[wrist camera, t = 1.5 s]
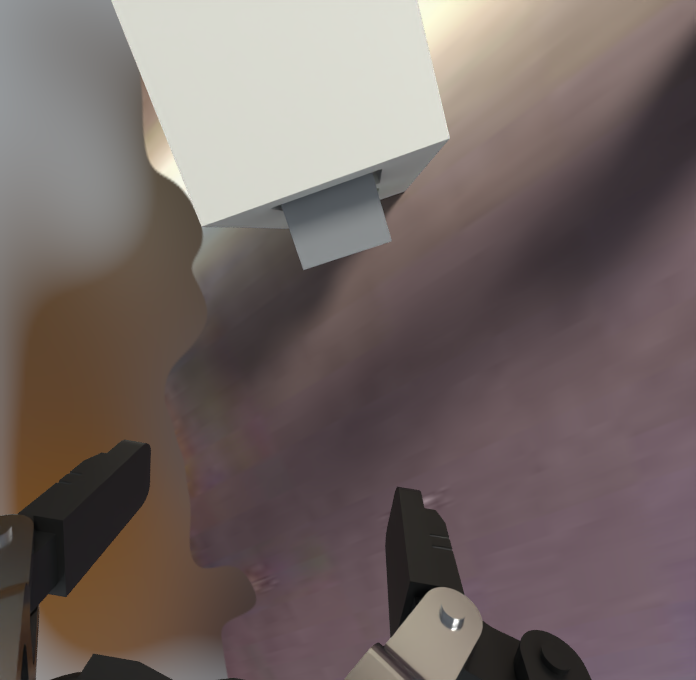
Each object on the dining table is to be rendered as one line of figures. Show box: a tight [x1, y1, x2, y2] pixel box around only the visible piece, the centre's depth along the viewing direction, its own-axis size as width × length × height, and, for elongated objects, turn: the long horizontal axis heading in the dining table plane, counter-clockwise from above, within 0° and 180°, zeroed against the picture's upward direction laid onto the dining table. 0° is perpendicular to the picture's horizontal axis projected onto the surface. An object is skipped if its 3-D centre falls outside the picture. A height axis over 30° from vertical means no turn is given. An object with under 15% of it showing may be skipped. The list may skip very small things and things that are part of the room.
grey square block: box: [281, 173, 392, 270], centre depth 23 cm, size 5×6×5 cm
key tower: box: [111, 0, 450, 229], centre depth 28 cm, size 12×10×24 cm
